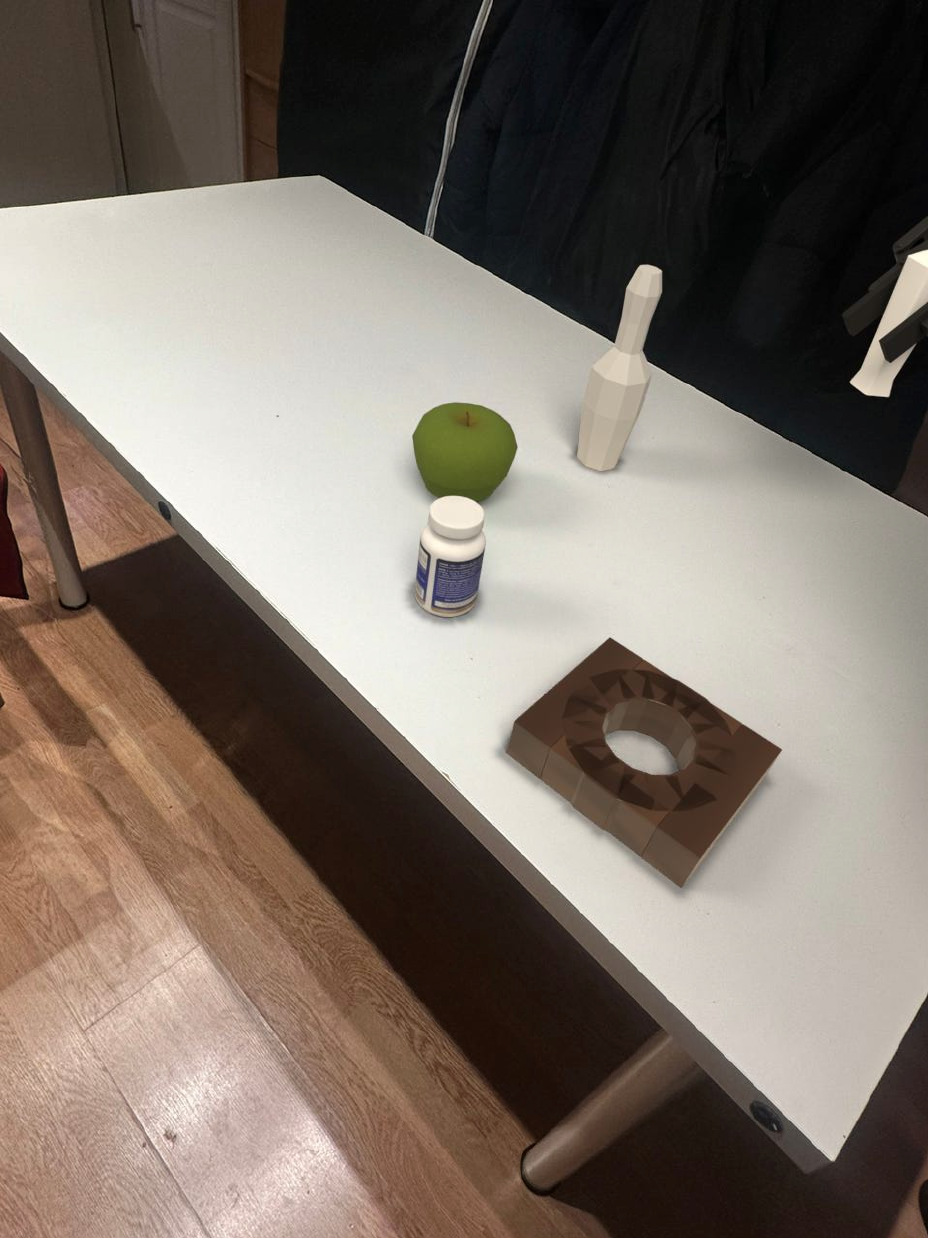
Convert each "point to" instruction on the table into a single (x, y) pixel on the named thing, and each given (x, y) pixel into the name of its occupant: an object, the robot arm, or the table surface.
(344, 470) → the table surface
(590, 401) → the faceted bottle
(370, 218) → the table surface
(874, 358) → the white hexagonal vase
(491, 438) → the apple
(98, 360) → the table surface
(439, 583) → the pill bottle
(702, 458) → the table surface
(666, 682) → the hole plate
